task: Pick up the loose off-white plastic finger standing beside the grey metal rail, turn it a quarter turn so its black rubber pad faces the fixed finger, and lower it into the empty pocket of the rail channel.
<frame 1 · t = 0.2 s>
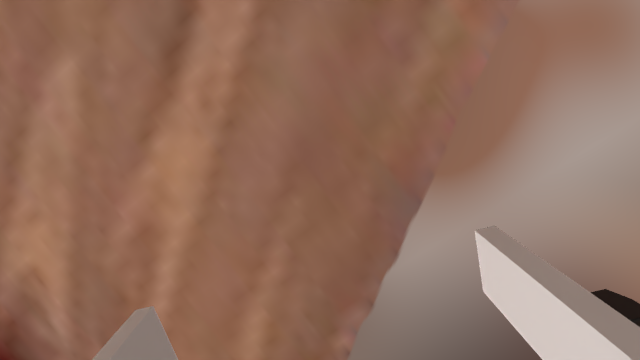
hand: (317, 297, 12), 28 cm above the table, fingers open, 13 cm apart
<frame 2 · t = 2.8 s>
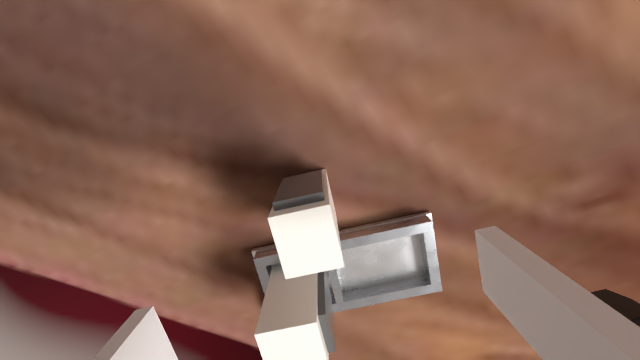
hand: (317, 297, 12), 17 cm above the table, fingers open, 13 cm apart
fixed finger: (300, 272, 31), resting on rail
rail: (347, 263, 31), on the table
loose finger: (310, 195, 29), on the table
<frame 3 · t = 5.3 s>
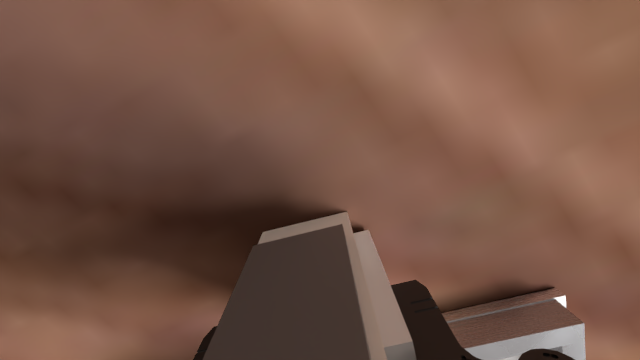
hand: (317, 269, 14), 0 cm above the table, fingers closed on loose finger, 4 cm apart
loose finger: (317, 264, 14), on the table, touching gripper
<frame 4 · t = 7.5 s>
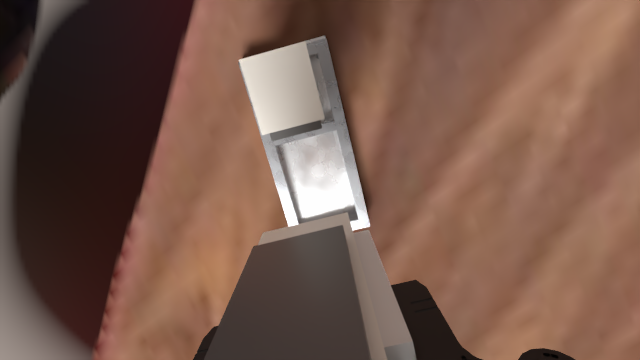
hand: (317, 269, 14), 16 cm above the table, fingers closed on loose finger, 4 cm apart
fixed finger: (295, 94, 27), resting on rail
rail: (309, 146, 29), on the table
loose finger: (317, 265, 14), point 16 cm above the table, touching gripper
when the fingers open (3 cm above the table, at t = 9.6 s): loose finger drops 2 cm, resting on rail.
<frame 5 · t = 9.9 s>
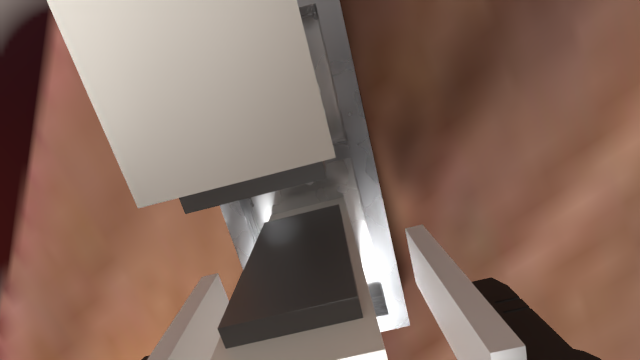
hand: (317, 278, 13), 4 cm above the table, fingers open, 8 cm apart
fixed finger: (274, 88, 15), resting on rail
rail: (301, 182, 16), on the table
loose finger: (317, 243, 16), point 1 cm above the table, touching rail
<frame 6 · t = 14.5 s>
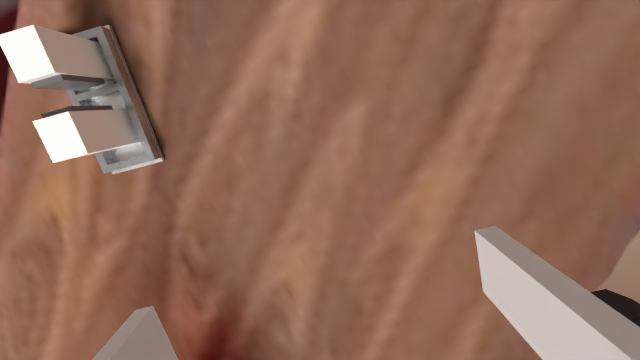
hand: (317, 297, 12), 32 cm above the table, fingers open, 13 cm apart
fixed finger: (97, 66, 39), resting on rail
rail: (113, 104, 41), on the table
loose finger: (121, 129, 41), point 1 cm above the table, touching rail
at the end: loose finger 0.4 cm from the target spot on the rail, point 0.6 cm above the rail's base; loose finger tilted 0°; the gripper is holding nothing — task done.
